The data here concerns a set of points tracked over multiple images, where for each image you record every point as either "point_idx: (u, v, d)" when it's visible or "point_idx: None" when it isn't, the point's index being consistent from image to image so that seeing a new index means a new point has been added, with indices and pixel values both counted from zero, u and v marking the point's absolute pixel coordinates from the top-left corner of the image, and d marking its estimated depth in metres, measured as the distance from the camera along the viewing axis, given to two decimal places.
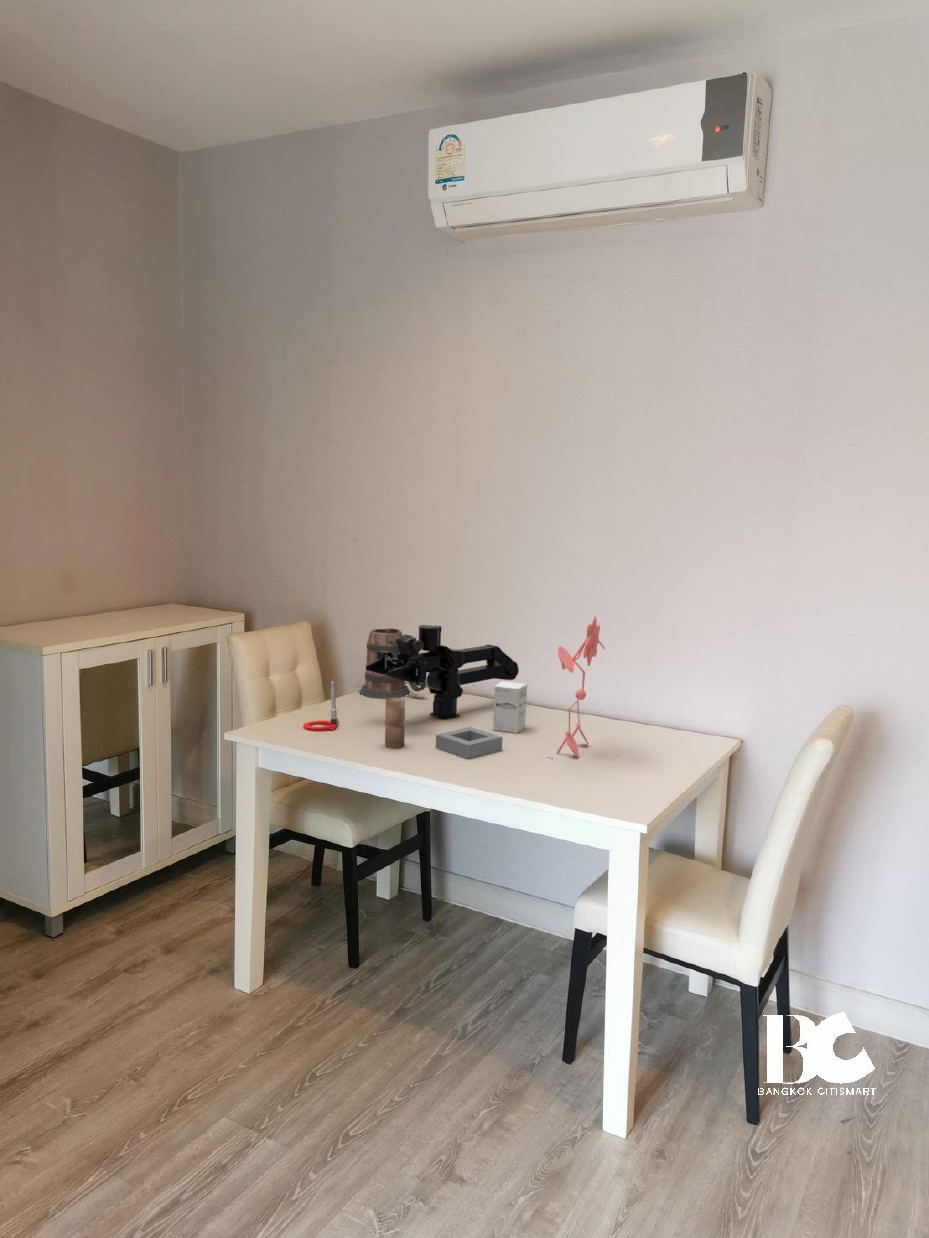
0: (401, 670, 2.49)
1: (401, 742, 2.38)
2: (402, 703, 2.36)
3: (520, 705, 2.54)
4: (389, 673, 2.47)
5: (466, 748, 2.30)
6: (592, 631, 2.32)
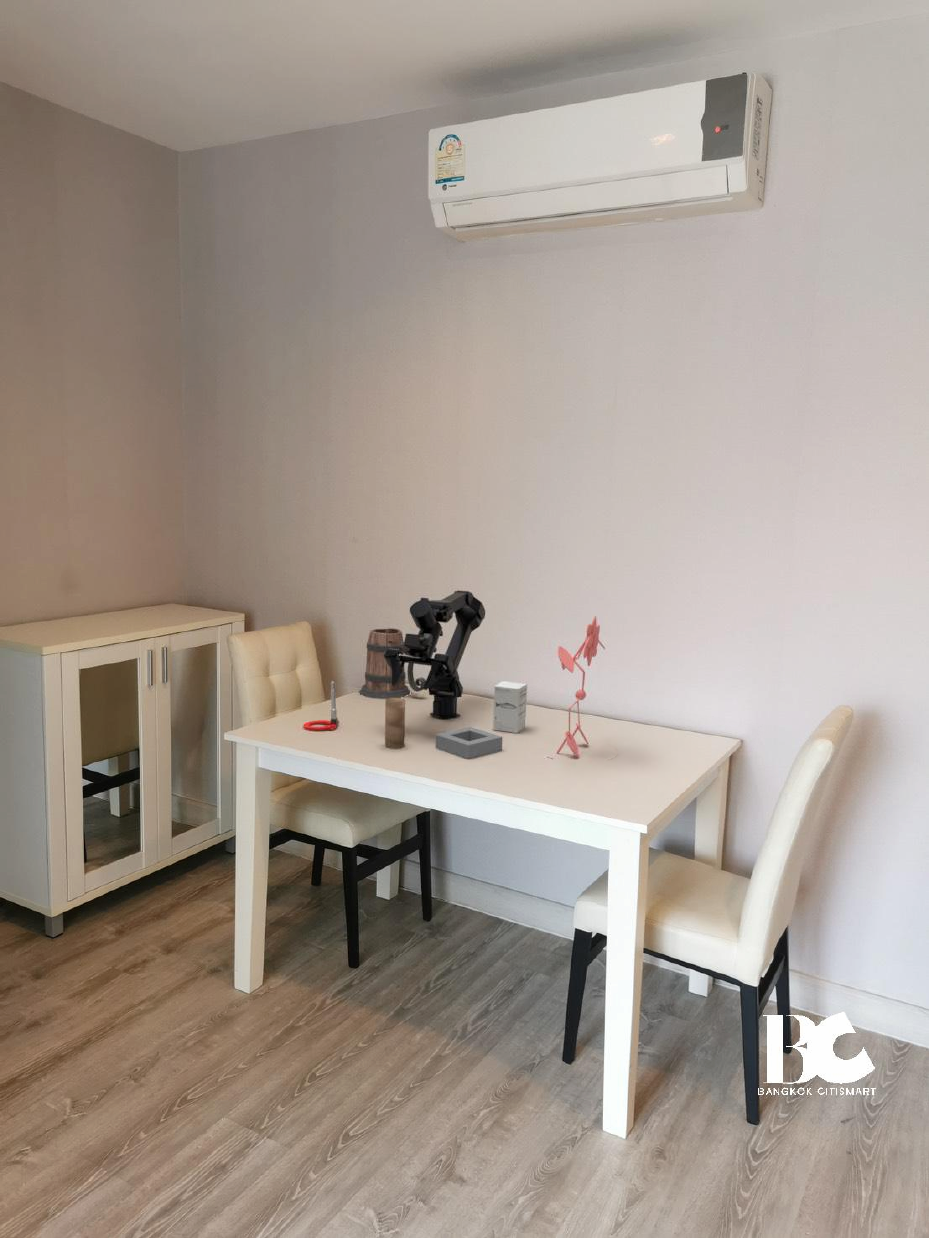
0: (432, 676, 2.44)
1: (401, 742, 2.38)
2: (402, 703, 2.36)
3: (520, 705, 2.54)
4: (426, 687, 2.44)
5: (466, 748, 2.30)
6: (592, 631, 2.32)
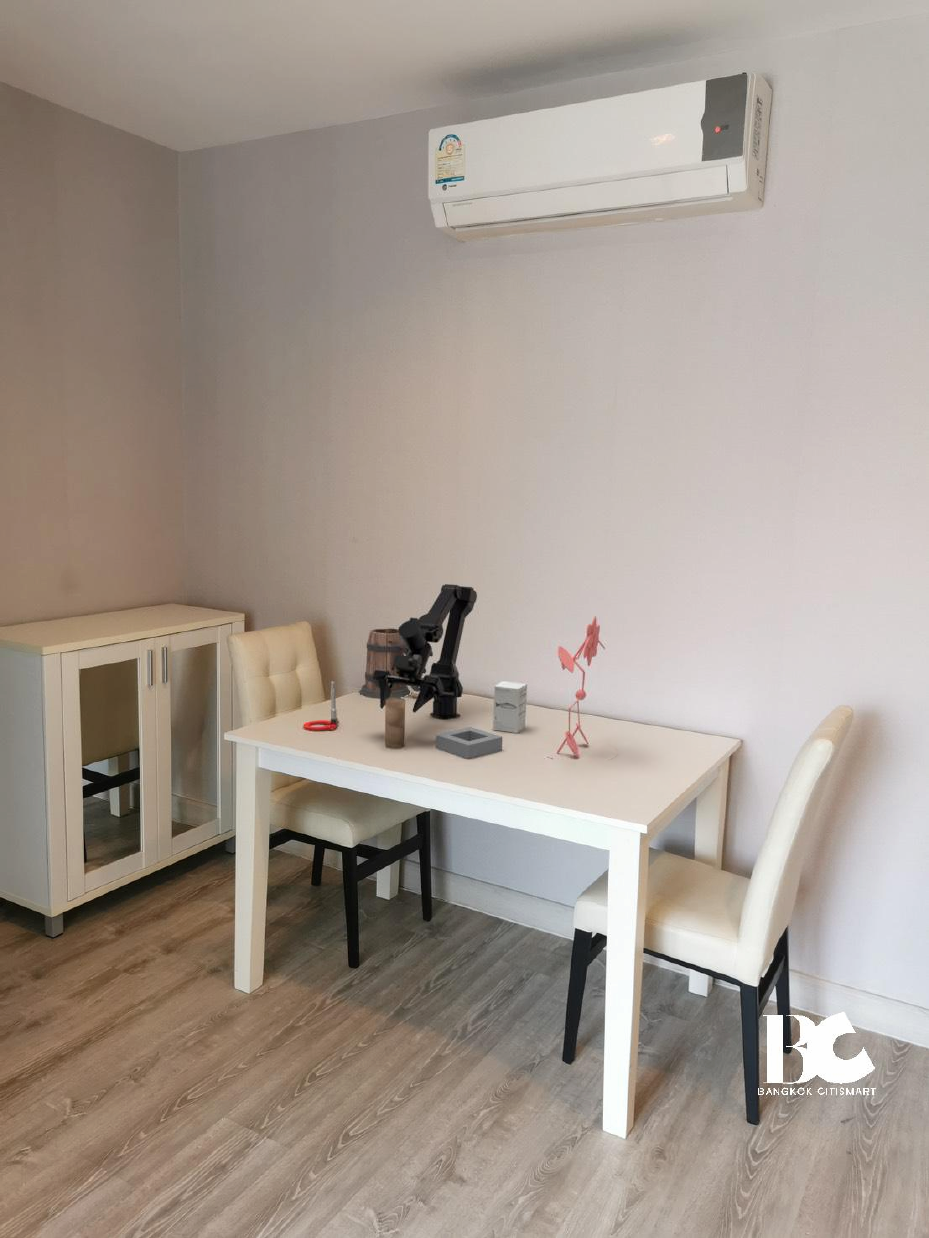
0: (422, 698, 2.39)
1: (401, 742, 2.38)
2: (402, 703, 2.36)
3: (520, 705, 2.54)
4: (415, 709, 2.38)
5: (466, 748, 2.30)
6: (592, 631, 2.32)
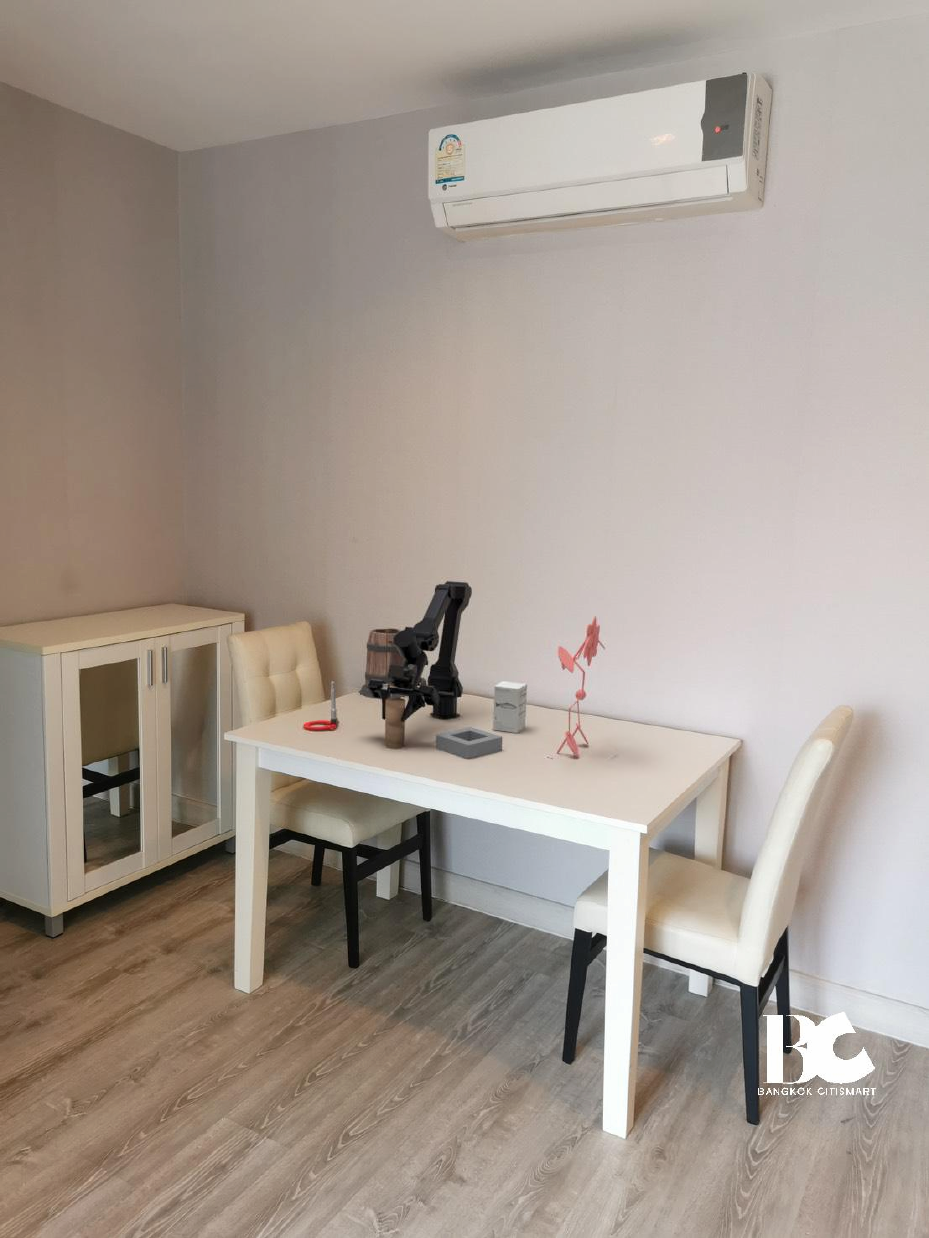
0: (410, 707, 2.37)
1: (400, 741, 2.38)
2: (402, 703, 2.36)
3: (520, 705, 2.54)
4: (403, 719, 2.37)
5: (466, 748, 2.30)
6: (592, 631, 2.32)
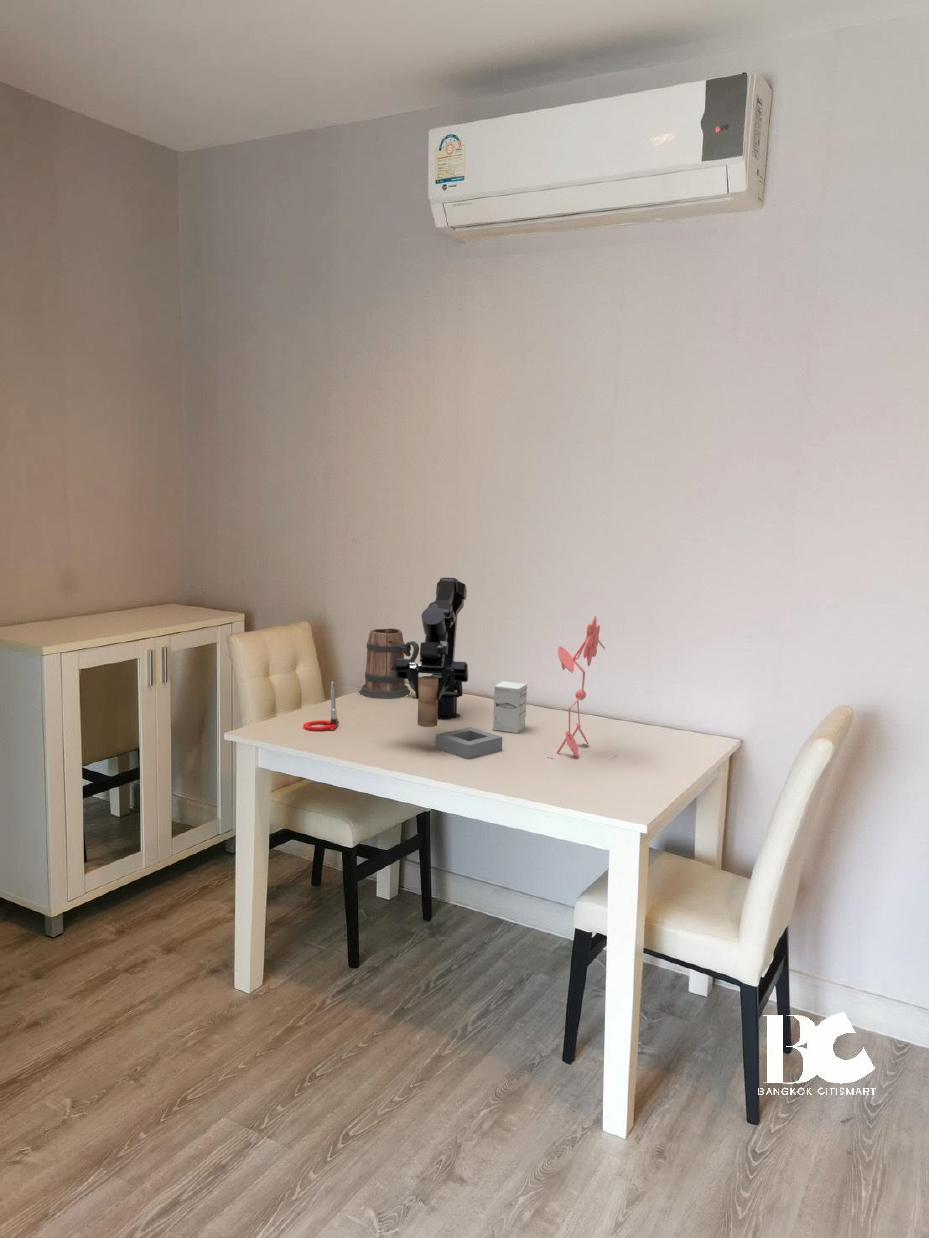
0: (444, 685, 2.36)
1: (435, 720, 2.35)
2: (437, 680, 2.34)
3: (520, 705, 2.54)
4: (439, 696, 2.34)
5: (466, 748, 2.30)
6: (592, 631, 2.32)
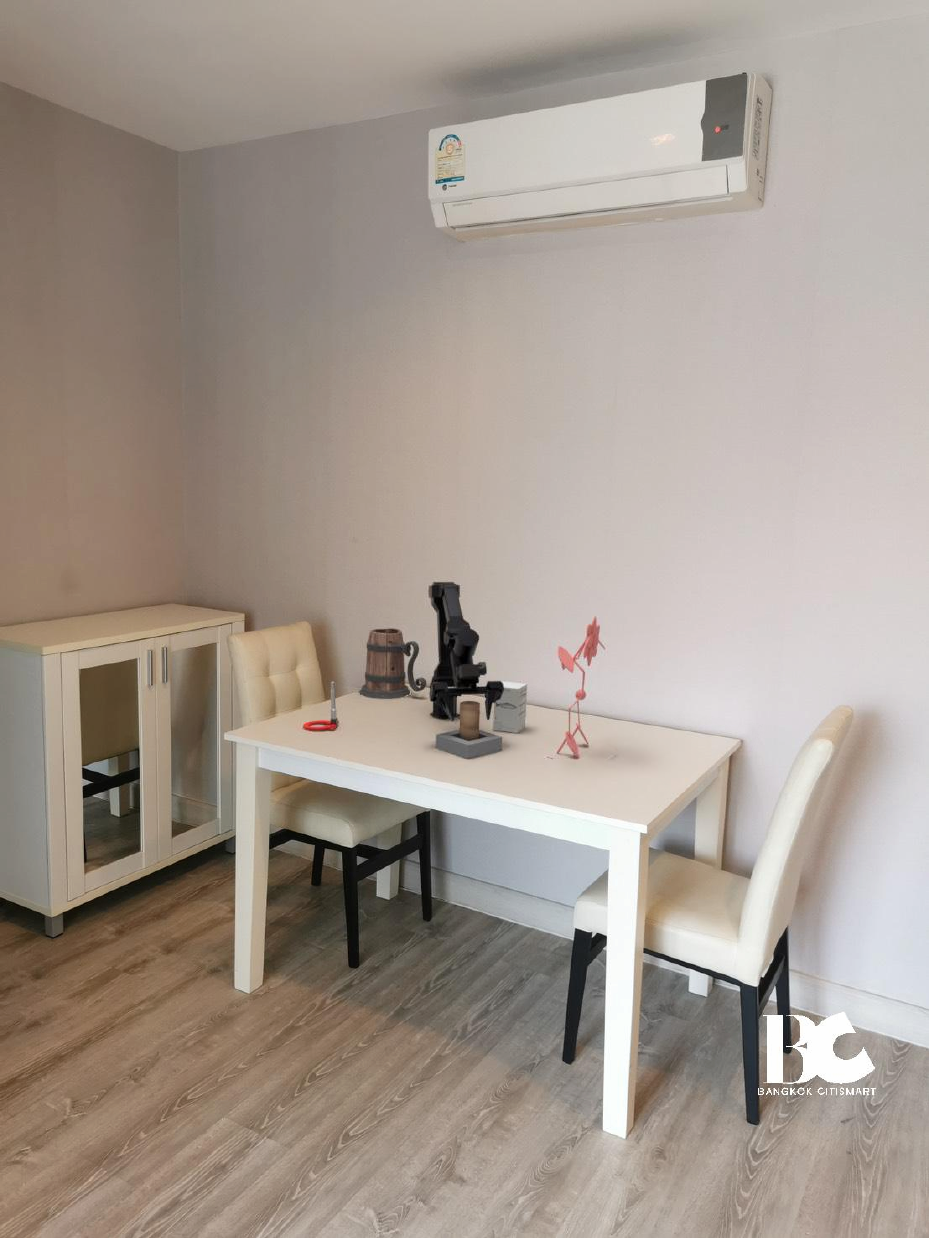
0: None
1: None
2: (479, 705, 2.36)
3: (520, 705, 2.54)
4: None
5: (466, 748, 2.30)
6: (592, 631, 2.32)
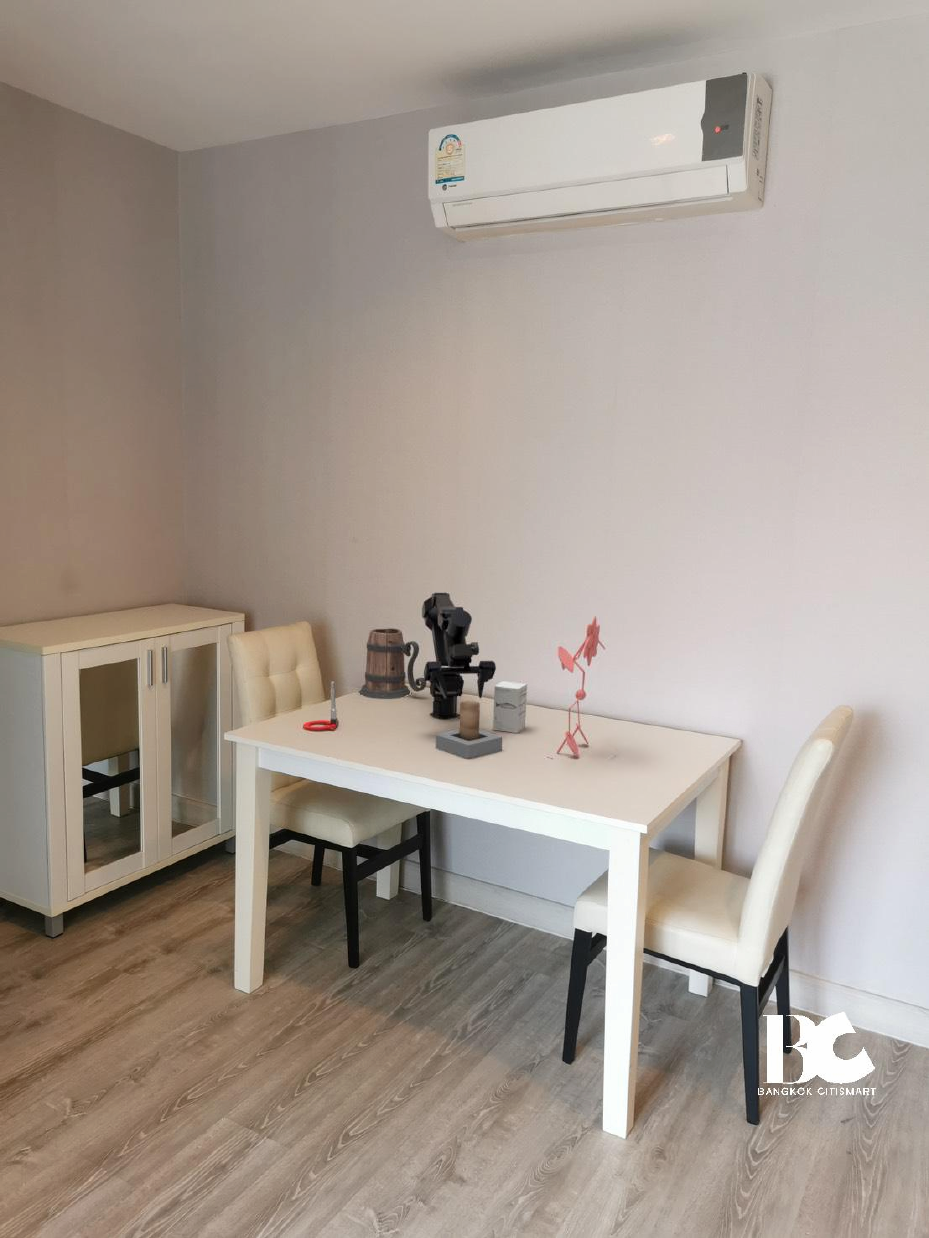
0: None
1: None
2: (479, 705, 2.36)
3: (520, 705, 2.54)
4: None
5: (466, 748, 2.30)
6: (592, 631, 2.32)
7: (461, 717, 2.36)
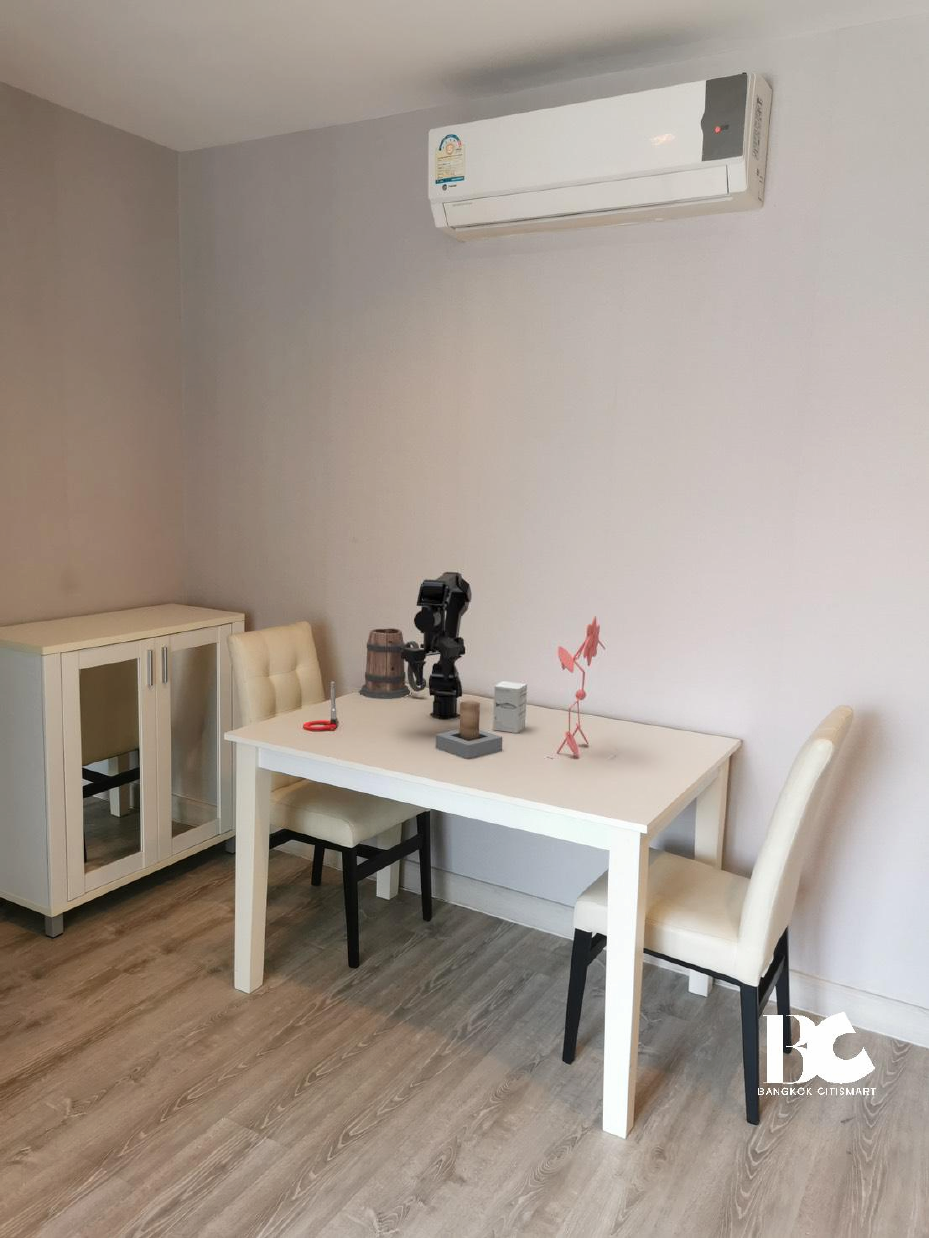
0: None
1: None
2: (479, 705, 2.36)
3: (520, 705, 2.54)
4: None
5: (466, 748, 2.30)
6: (592, 631, 2.32)
7: (461, 717, 2.36)
